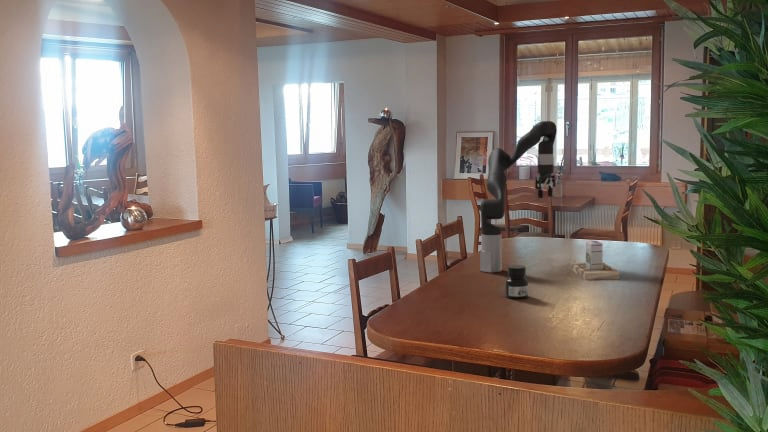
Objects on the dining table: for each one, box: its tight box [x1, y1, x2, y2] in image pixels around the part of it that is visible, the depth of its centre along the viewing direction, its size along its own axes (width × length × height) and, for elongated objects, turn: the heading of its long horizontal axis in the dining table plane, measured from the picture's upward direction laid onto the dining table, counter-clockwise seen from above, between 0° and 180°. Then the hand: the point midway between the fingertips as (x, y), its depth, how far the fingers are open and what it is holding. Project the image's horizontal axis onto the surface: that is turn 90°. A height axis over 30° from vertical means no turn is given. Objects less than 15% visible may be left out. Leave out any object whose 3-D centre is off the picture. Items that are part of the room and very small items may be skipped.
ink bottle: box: [504, 264, 529, 300], centre depth 275 cm, size 10×9×12 cm
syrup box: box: [585, 240, 604, 270], centre depth 313 cm, size 6×6×14 cm
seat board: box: [570, 262, 620, 281], centre depth 314 cm, size 22×15×3 cm
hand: (545, 197), depth 336 cm, fingers open, 8 cm apart
